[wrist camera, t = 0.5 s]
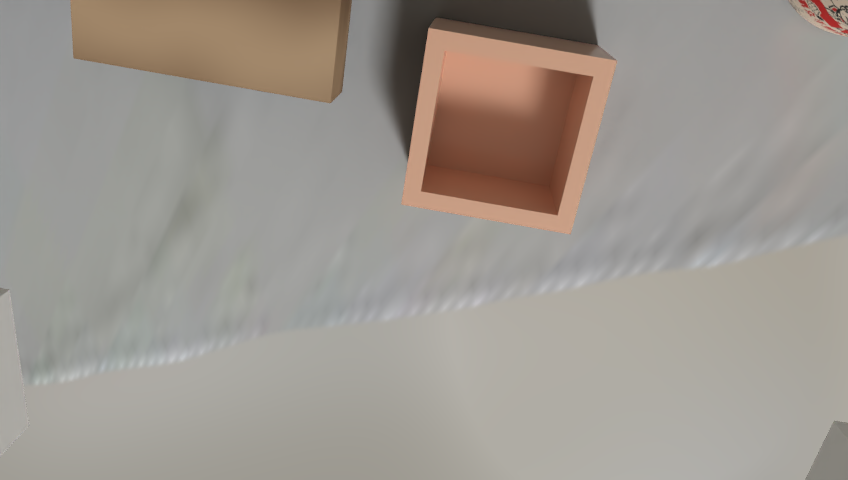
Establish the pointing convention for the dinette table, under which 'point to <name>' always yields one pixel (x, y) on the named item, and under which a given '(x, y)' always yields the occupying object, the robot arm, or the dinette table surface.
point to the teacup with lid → (824, 14)
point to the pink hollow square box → (505, 124)
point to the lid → (222, 41)
